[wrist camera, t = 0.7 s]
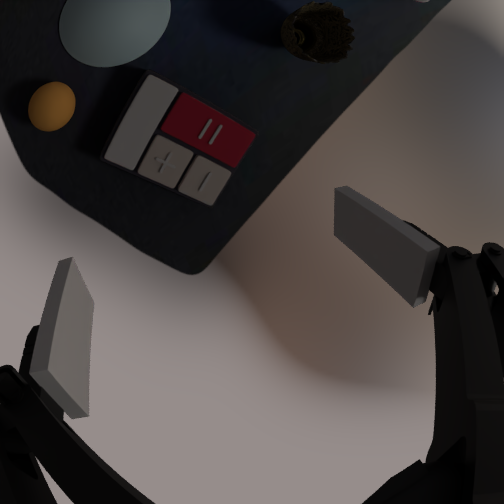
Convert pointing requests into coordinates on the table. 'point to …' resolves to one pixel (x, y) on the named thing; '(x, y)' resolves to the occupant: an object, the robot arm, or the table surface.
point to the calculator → (177, 140)
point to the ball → (51, 106)
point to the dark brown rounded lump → (318, 33)
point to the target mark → (112, 29)
